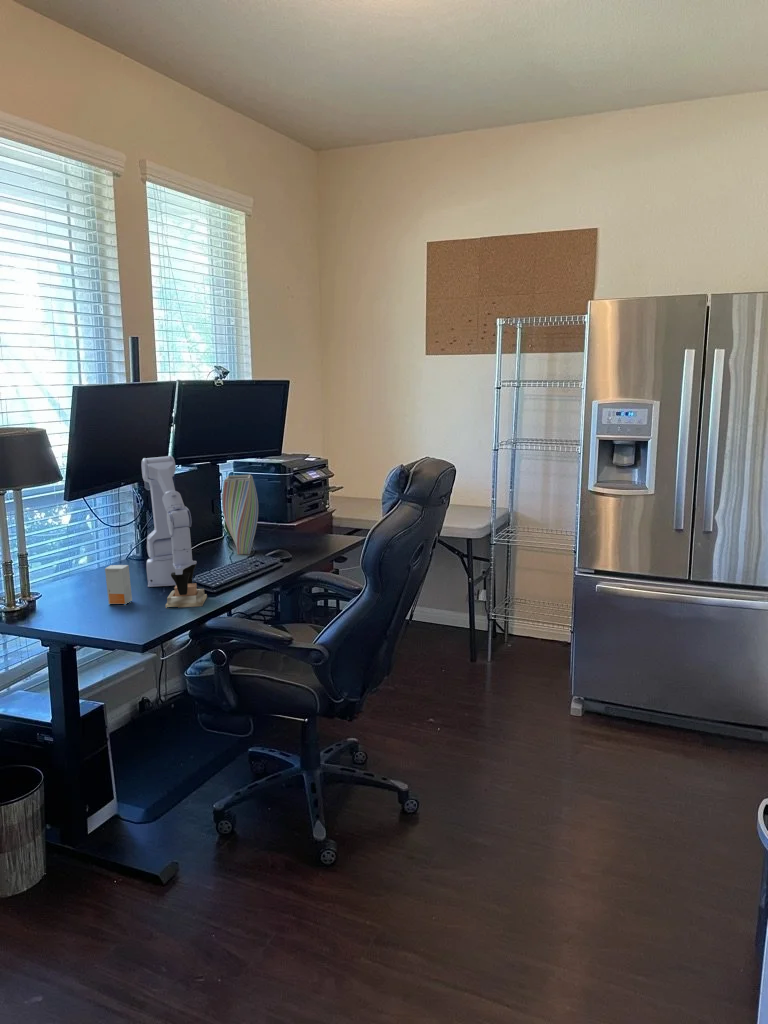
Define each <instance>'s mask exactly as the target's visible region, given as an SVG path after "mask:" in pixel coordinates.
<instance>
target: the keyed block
mask: <svg viewBox="0 0 768 1024" xmlns="http://www.w3.org/2000/svg"><path fill="white" fill-rule="evenodd" d="M197 587H198V586H197V583H196V582H194V583H193V582H192V583H190V584H188V590H187V595H180V594H179V592H178V589H177V586H176V585H174V587H173V589H174V590H175V596H194V595H197V589H198V588H197Z"/></svg>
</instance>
